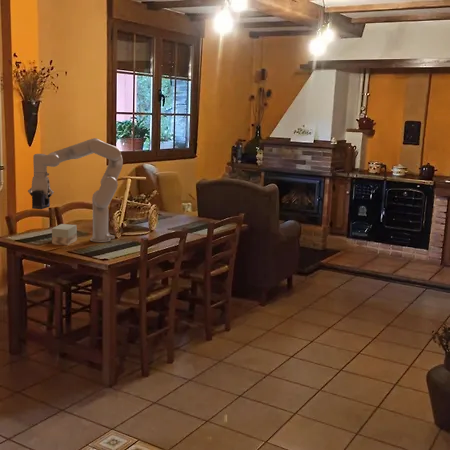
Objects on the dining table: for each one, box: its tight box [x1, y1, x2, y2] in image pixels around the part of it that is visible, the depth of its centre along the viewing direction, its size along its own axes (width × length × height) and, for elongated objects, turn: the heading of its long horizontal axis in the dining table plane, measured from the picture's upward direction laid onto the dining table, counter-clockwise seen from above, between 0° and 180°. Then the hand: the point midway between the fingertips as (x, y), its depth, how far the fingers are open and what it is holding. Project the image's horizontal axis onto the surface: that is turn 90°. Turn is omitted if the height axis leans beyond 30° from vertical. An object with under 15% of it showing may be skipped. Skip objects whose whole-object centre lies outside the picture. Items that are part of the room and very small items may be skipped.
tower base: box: [51, 232, 78, 246], centre depth 362 cm, size 10×14×5 cm
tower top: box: [51, 223, 78, 238], centre depth 361 cm, size 10×14×5 cm
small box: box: [31, 191, 51, 210], centre depth 355 cm, size 11×6×10 cm, turn 169°
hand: (41, 204), depth 356 cm, fingers closed on small box, 6 cm apart
